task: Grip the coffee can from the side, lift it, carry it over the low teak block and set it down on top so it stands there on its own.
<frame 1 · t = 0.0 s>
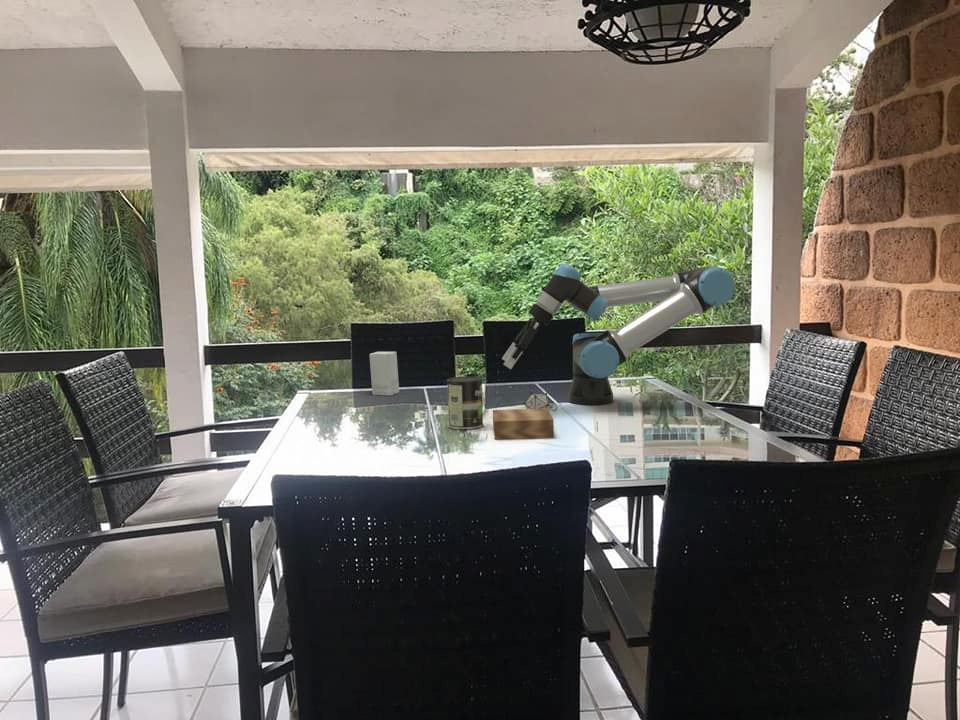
hand: (506, 363, 248), 15 cm above the table, tool tilted 35°, fingers open, 13 cm apart
teak block: (522, 432, 220), on the table
skincare box: (385, 394, 288), on the table
game die: (538, 419, 238), on the table
coffee can: (465, 426, 230), on the table
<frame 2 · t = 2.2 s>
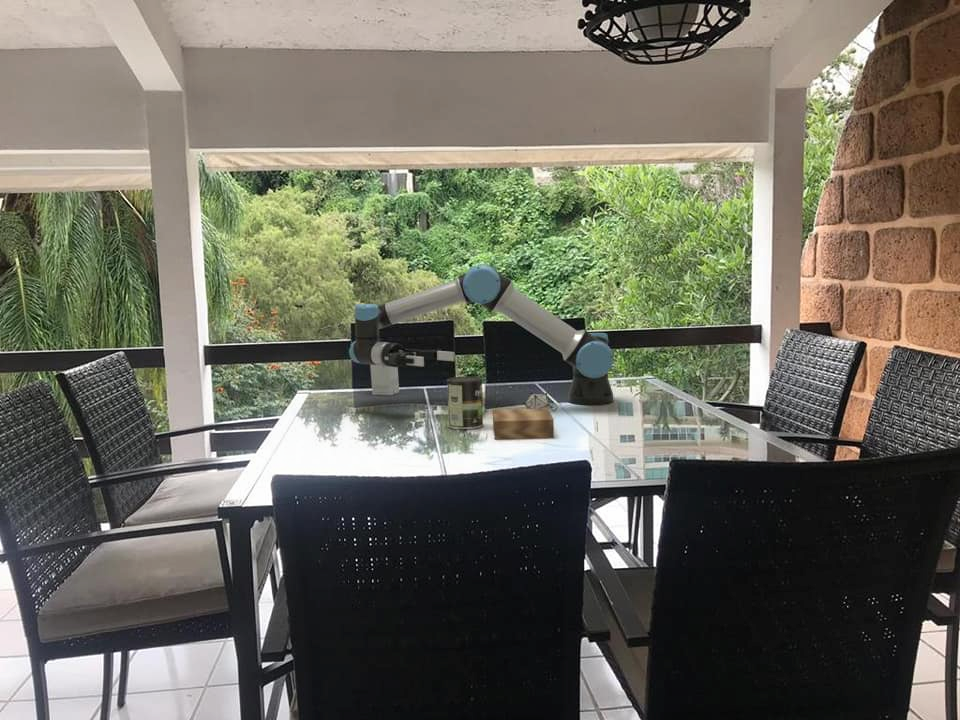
hand: (438, 359, 233), 19 cm above the table, tool horizontal, fingers open, 13 cm apart
nothing on the table moved.
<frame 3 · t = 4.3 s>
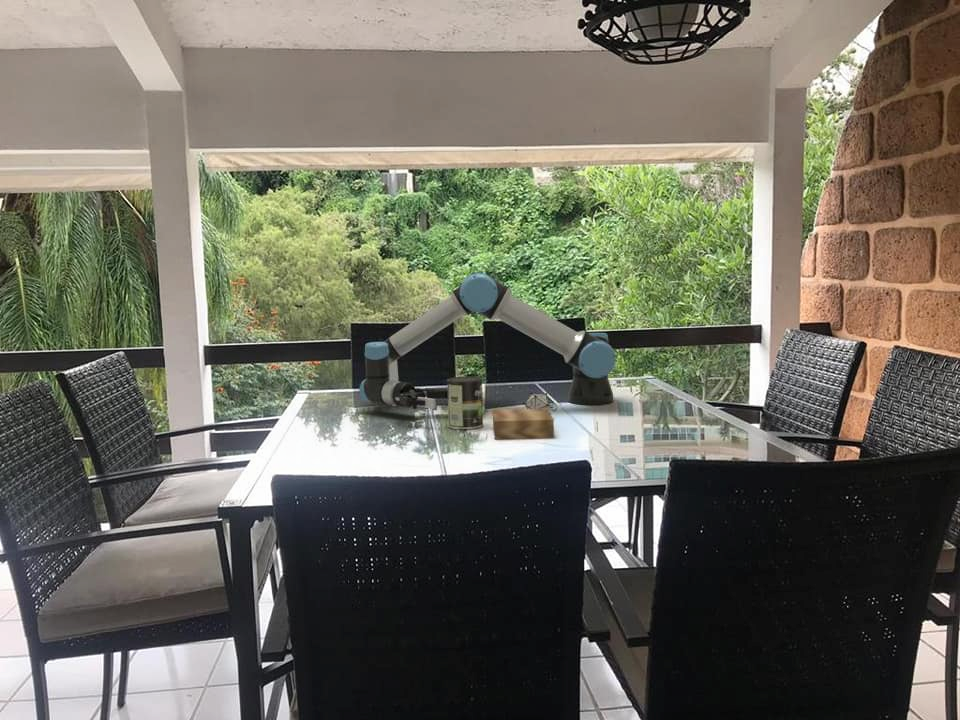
hand: (450, 400, 232), 7 cm above the table, tool horizontal, fingers open, 13 cm apart
nothing on the table moved.
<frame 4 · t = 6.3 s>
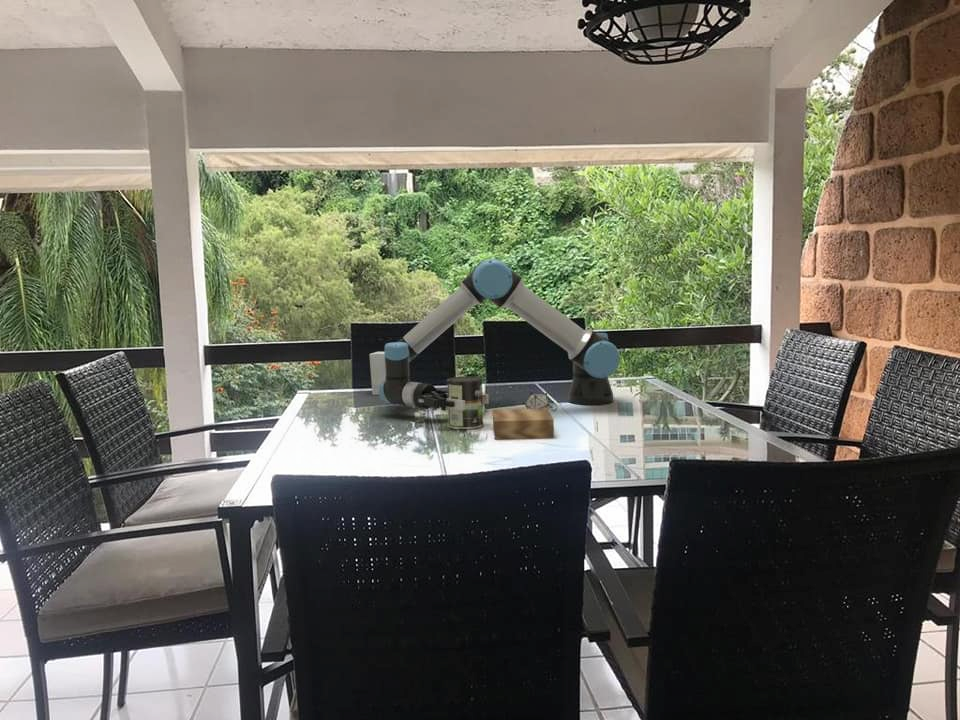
hand: (476, 402, 226), 8 cm above the table, tool horizontal, fingers closed on coffee can, 10 cm apart
coffee can: (465, 426, 230), on the table, touching gripper
everything else where it was.
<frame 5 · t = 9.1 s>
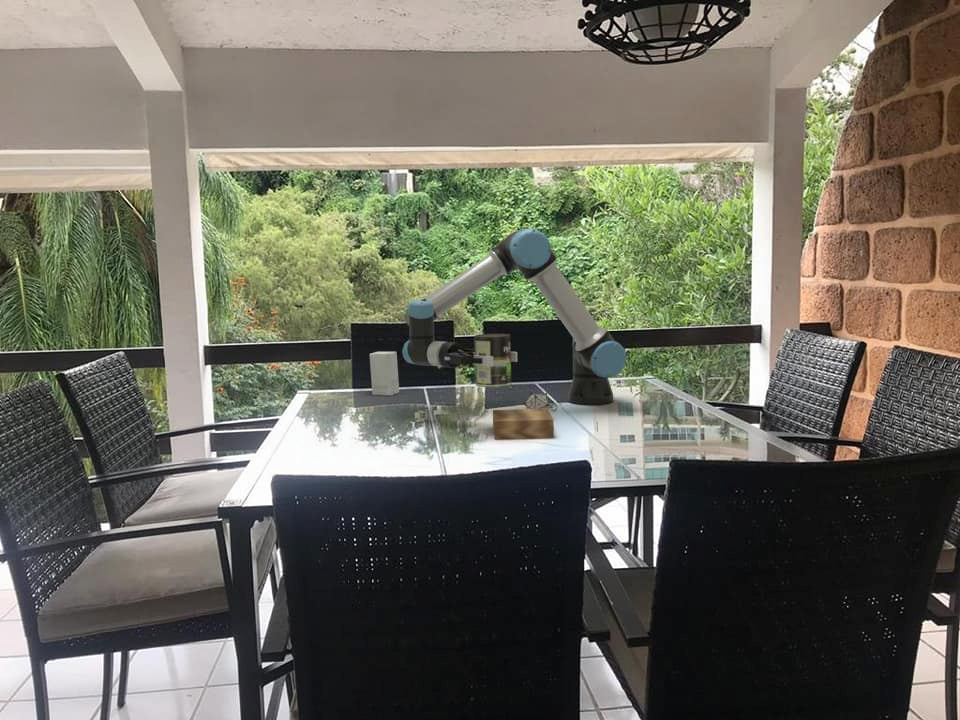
hand: (504, 359, 218), 21 cm above the table, tool horizontal, fingers closed on coffee can, 10 cm apart
coffee can: (493, 385, 222), point 13 cm above the table, touching gripper
everything else where it was.
when the fingers open (13 cm above the table, at t = 12.1 s): coffee can stays where it is, resting on teak block.
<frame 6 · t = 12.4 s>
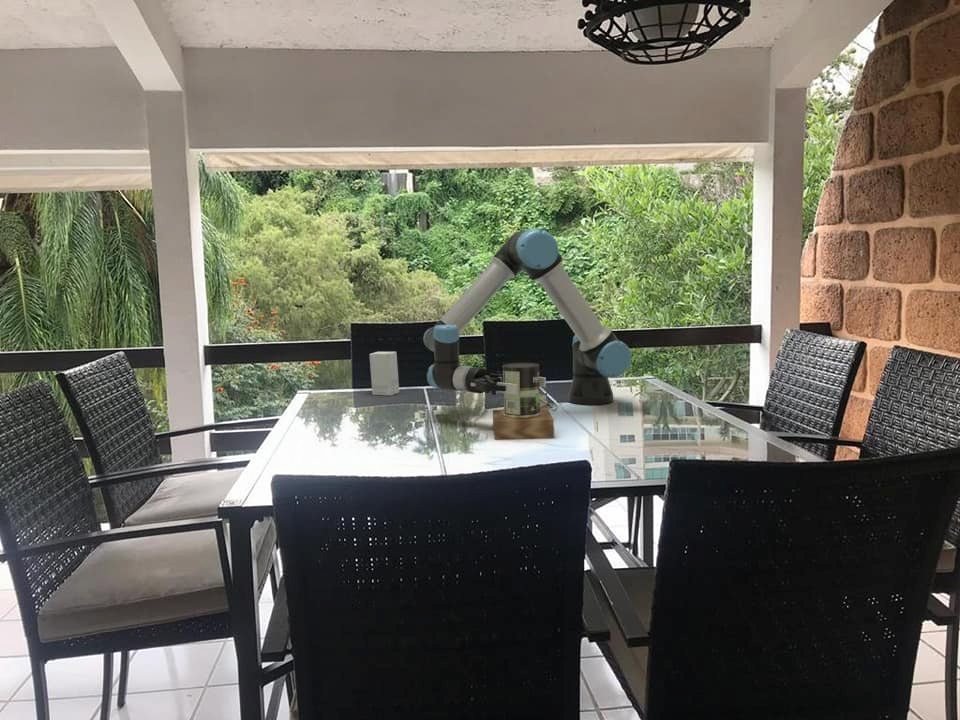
hand: (531, 385, 216), 13 cm above the table, tool horizontal, fingers open, 13 cm apart
coffee can: (521, 415, 219), point 5 cm above the table, touching teak block
everything else where it was.
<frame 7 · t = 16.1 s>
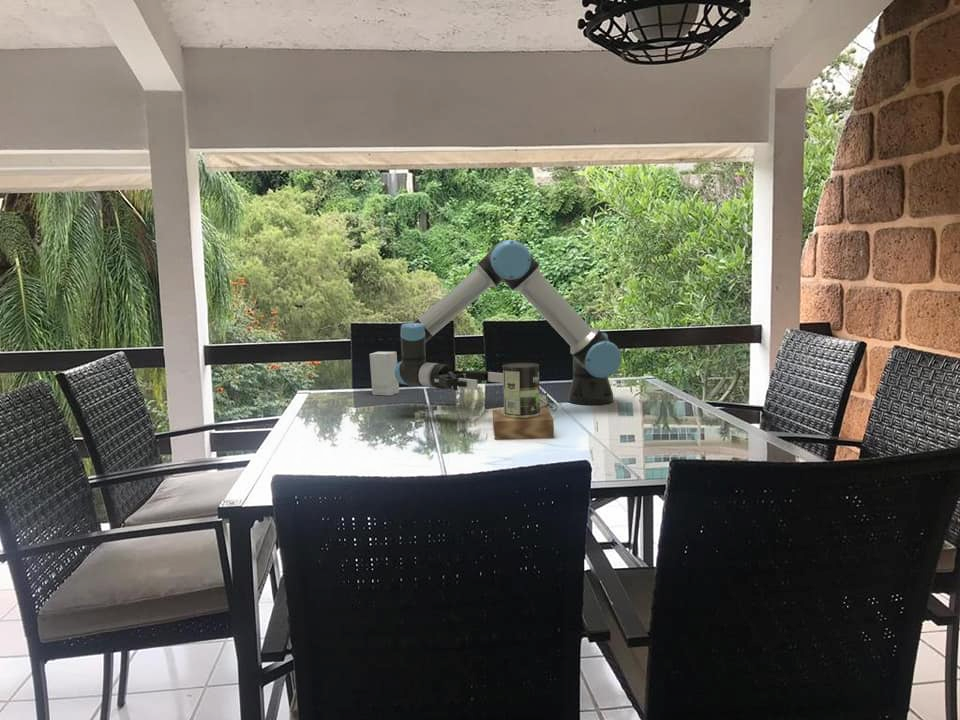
hand: (491, 381, 225), 14 cm above the table, tool horizontal, fingers open, 13 cm apart
nothing on the table moved.
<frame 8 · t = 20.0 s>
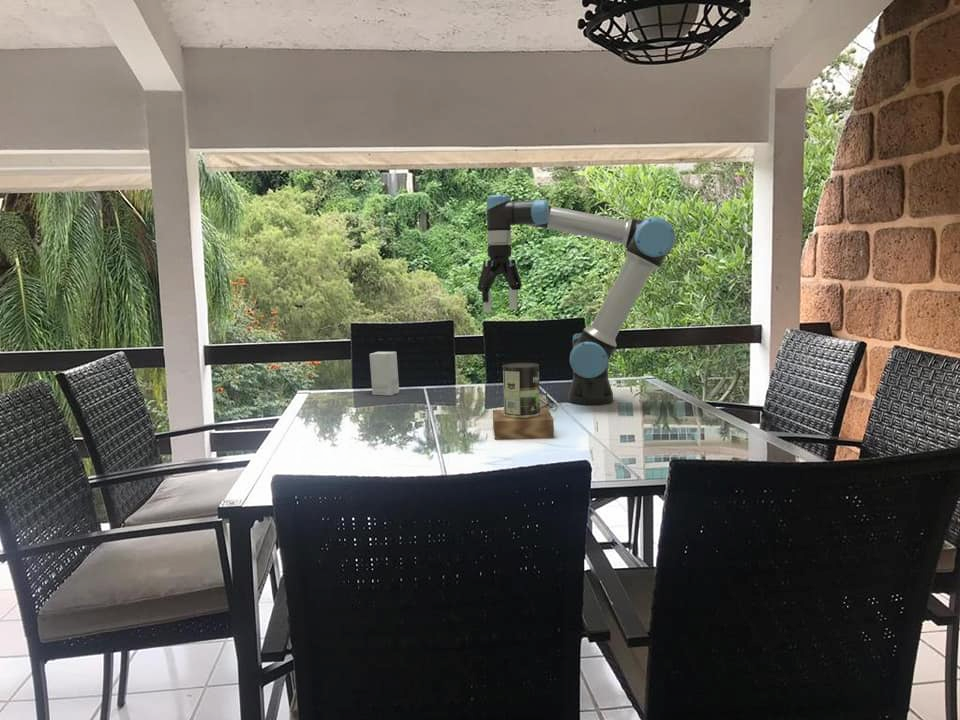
hand: (500, 311, 251), 32 cm above the table, tool pointing down, fingers open, 13 cm apart
nothing on the table moved.
at the end: coffee can inside the target area on the teak block (0.1 cm from its centre), point 4.8 cm above the teak block's base; coffee can tilted 0°; the gripper is holding nothing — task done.
